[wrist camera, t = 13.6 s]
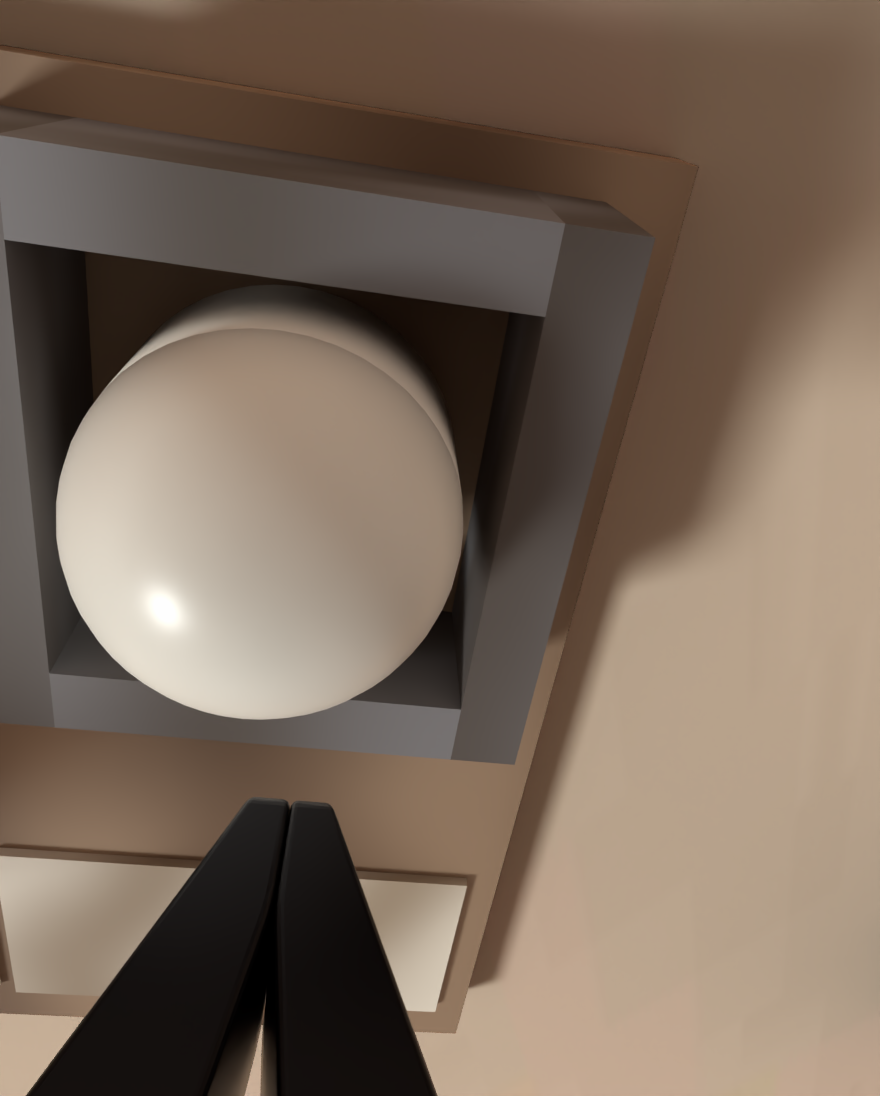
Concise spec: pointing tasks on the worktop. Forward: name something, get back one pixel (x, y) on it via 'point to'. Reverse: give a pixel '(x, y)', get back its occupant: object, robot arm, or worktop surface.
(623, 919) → the worktop surface
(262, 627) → the dome
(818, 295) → the worktop surface
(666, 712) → the worktop surface
